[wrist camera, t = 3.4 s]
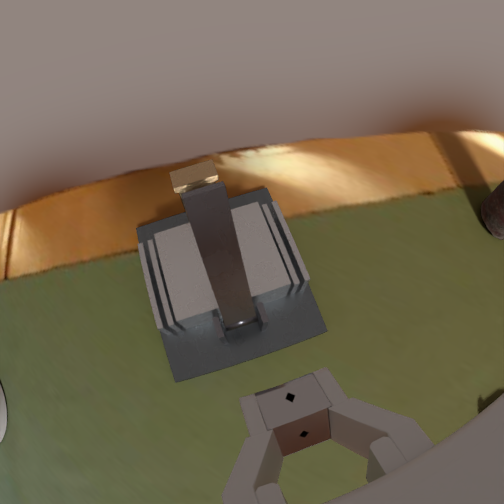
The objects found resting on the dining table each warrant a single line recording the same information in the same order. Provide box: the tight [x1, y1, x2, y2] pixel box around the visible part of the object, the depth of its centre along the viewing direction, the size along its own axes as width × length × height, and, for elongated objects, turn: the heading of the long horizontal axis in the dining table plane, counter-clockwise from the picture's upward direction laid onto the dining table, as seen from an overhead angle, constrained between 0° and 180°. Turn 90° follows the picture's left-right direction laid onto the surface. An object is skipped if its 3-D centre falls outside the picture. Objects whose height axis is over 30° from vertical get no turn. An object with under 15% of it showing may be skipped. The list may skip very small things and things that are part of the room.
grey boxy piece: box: [136, 160, 327, 382], centre depth 34 cm, size 18×20×10 cm
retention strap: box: [181, 181, 259, 332], centre depth 26 cm, size 15×3×1 cm
